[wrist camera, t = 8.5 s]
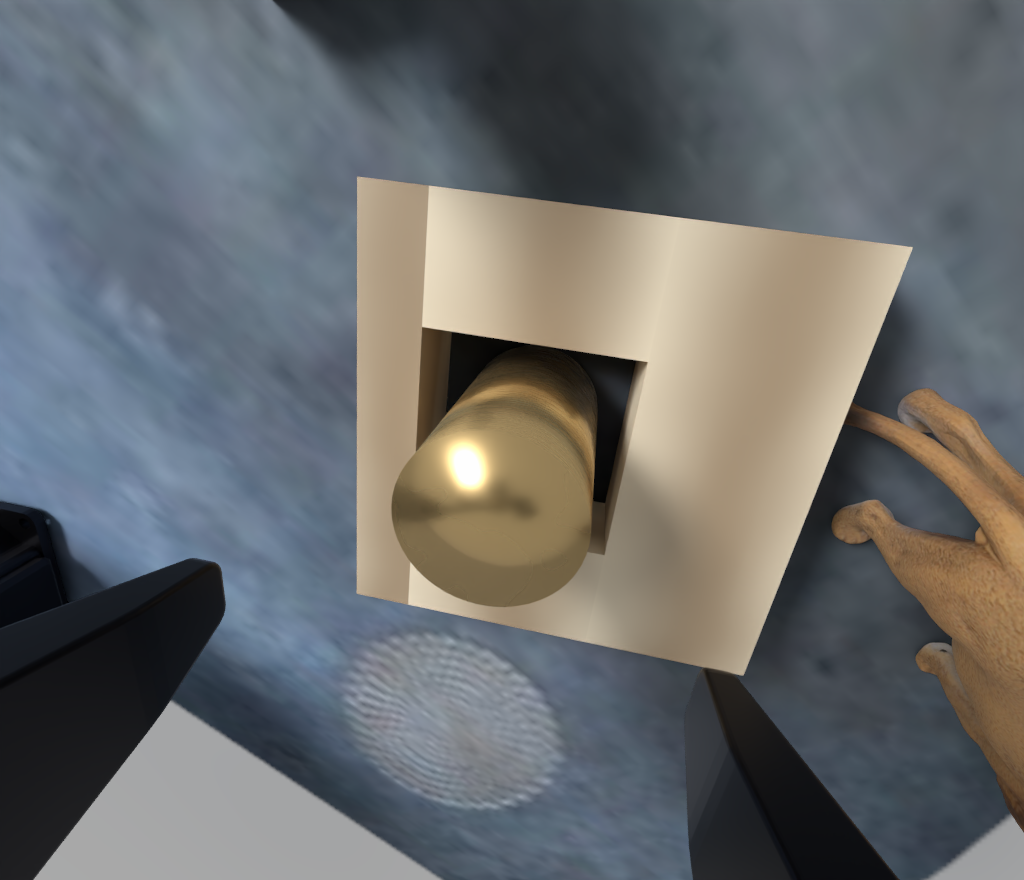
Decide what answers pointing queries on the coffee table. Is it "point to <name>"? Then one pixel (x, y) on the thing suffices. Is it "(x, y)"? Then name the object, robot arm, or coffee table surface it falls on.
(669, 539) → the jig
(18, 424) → the coffee table surface
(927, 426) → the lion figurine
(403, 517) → the brass cylinder plug
